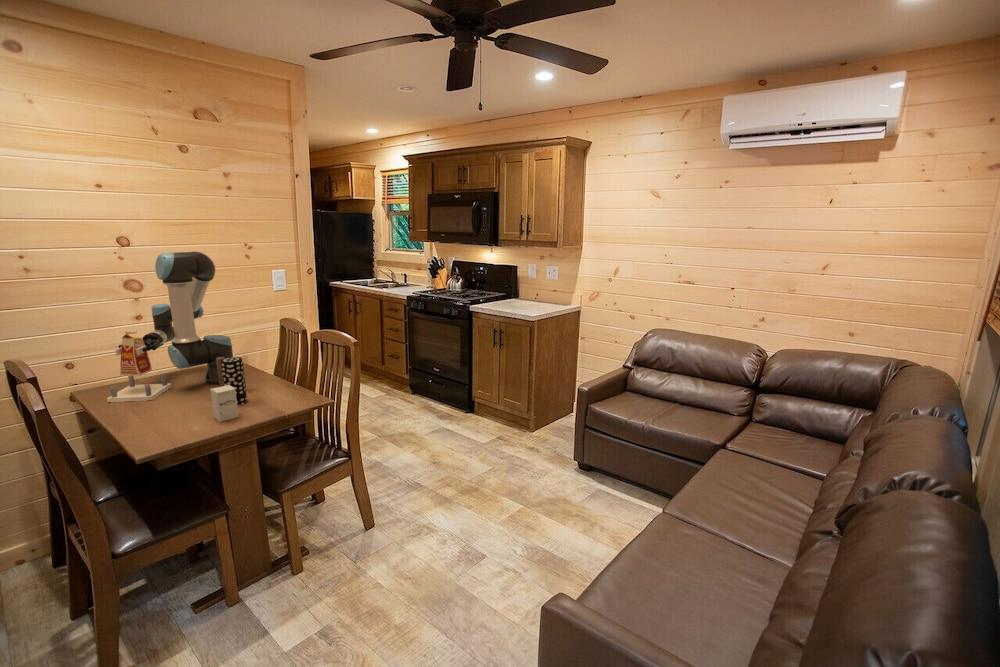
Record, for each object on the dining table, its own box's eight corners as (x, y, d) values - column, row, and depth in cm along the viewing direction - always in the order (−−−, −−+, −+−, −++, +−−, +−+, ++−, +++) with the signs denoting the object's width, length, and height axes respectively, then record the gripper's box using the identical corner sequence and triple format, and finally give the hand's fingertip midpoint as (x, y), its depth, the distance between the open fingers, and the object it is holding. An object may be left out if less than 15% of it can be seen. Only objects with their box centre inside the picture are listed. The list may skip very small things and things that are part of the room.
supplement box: (219, 422, 197) (215, 393, 194) (213, 417, 202) (209, 388, 199) (239, 417, 202) (235, 388, 199) (232, 412, 207) (229, 384, 204)
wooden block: (246, 391, 232) (242, 355, 228) (221, 396, 224) (216, 359, 220) (244, 389, 234) (239, 353, 230) (219, 394, 227) (214, 357, 223)
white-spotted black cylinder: (238, 398, 223) (233, 356, 219) (251, 401, 220) (246, 358, 215) (221, 404, 216) (216, 360, 211) (234, 407, 212) (228, 363, 208)
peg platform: (171, 387, 236) (169, 373, 235) (152, 400, 219) (149, 386, 217) (131, 388, 234) (128, 374, 232) (107, 402, 216) (104, 387, 215)
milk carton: (139, 376, 220) (132, 332, 215) (119, 375, 220) (111, 332, 215) (153, 369, 228) (147, 328, 224) (134, 369, 229) (127, 327, 224)
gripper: (178, 346, 241) (153, 359, 219) (132, 347, 238) (102, 361, 216) (176, 331, 239) (151, 343, 217) (130, 332, 236) (99, 344, 214)
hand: (127, 352), depth 217 cm, fingers closed on milk carton, 8 cm apart
